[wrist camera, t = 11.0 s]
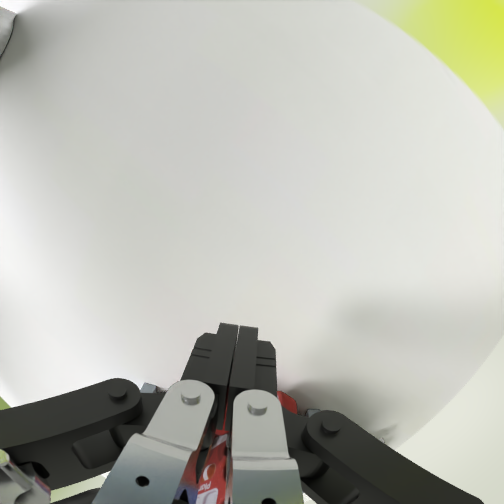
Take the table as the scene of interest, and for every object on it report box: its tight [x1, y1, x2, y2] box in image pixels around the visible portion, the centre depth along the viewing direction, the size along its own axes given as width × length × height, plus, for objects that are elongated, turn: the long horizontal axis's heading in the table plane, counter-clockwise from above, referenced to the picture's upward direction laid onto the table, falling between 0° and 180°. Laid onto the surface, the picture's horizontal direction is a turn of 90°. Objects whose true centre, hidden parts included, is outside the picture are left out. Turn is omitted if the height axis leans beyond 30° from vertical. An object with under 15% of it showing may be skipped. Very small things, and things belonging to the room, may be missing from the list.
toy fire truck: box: [196, 391, 297, 504], centre depth 14 cm, size 7×12×10 cm, turn 141°
